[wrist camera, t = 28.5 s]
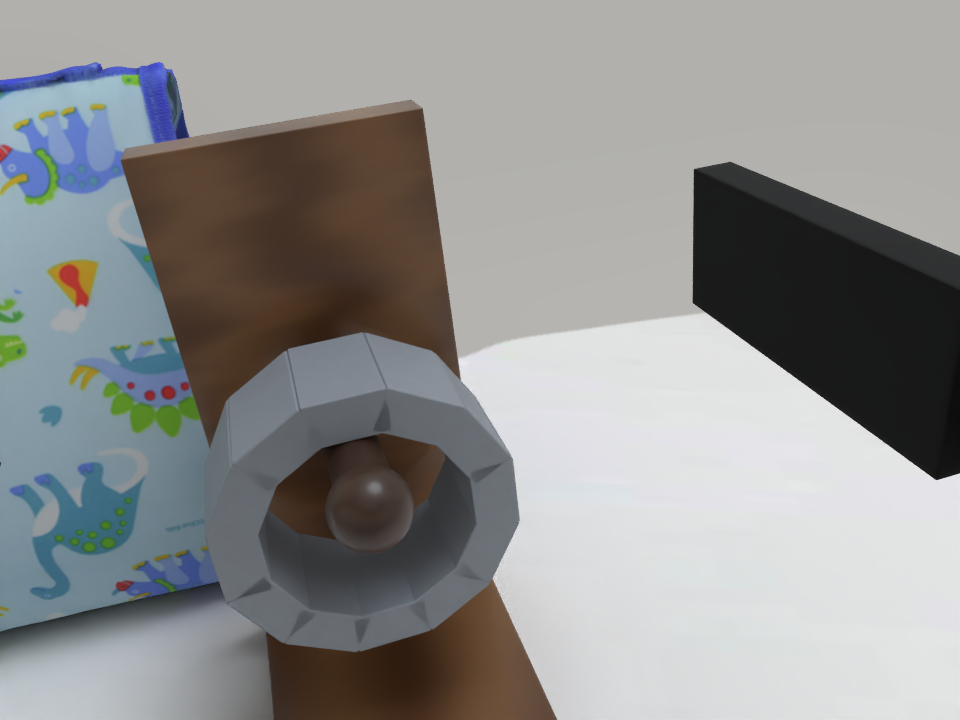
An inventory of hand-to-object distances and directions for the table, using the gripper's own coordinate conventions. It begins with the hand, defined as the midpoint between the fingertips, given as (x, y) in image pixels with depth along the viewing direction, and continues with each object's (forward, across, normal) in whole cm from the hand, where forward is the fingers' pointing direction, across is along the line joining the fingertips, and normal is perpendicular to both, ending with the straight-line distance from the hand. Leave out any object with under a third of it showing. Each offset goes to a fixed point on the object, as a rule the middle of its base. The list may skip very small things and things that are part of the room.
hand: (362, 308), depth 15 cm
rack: (+14, 0, -24) cm, 28 cm away
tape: (+13, 0, -19) cm, 23 cm away
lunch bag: (+31, -15, -25) cm, 42 cm away
